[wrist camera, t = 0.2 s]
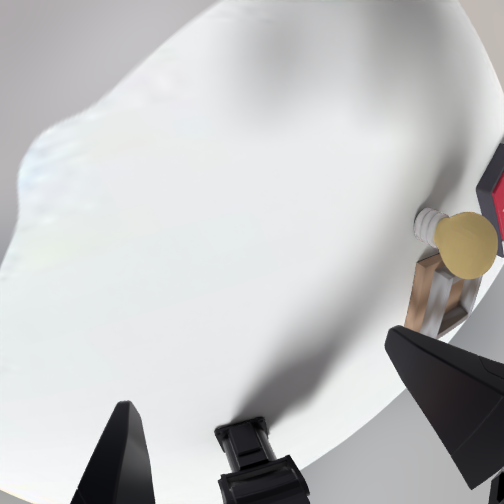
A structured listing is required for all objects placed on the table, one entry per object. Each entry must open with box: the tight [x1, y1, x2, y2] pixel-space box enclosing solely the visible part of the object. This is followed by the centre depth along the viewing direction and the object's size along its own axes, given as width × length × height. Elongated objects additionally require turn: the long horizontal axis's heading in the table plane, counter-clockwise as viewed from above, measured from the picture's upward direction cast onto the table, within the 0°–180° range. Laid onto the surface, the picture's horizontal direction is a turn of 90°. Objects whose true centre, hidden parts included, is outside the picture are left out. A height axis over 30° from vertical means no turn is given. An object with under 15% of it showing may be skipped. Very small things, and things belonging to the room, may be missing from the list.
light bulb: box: [414, 208, 498, 279], centre depth 24 cm, size 6×6×10 cm
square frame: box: [404, 253, 483, 339], centre depth 33 cm, size 12×14×4 cm
